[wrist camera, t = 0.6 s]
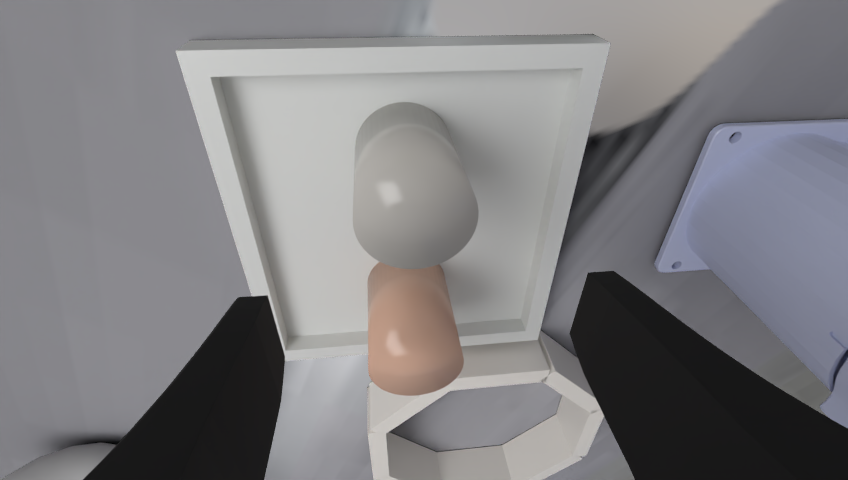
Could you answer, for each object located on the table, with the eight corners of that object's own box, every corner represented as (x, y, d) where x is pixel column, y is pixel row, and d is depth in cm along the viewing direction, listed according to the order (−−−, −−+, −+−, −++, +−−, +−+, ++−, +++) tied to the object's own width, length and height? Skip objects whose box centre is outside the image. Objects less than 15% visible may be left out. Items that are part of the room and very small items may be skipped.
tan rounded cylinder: (446, 249, 20) (467, 330, 16) (443, 307, 23) (461, 391, 19) (364, 254, 20) (365, 339, 16) (369, 312, 22) (371, 399, 18)
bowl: (603, 320, 25) (628, 362, 23) (557, 445, 34) (572, 486, 31) (362, 340, 24) (362, 386, 22) (376, 465, 32) (377, 509, 30)
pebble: (454, 100, 16) (484, 160, 12) (449, 189, 18) (473, 265, 14) (350, 103, 16) (346, 166, 12) (358, 194, 18) (358, 273, 14)
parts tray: (593, 34, 16) (611, 43, 15) (529, 320, 25) (537, 339, 24) (189, 40, 14) (175, 51, 13) (276, 341, 23) (272, 362, 22)
